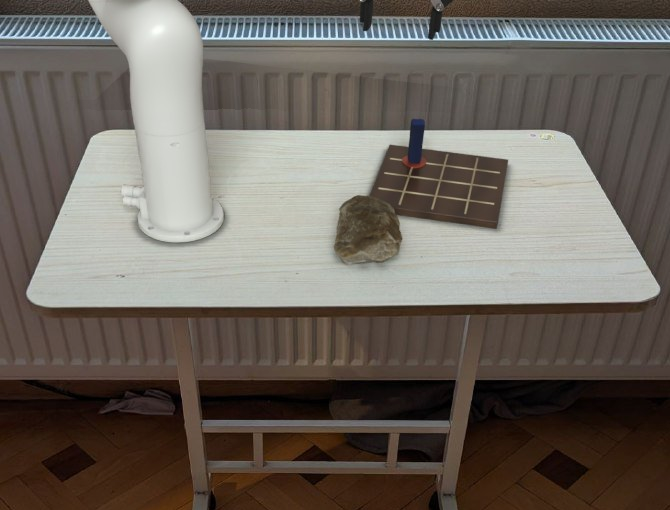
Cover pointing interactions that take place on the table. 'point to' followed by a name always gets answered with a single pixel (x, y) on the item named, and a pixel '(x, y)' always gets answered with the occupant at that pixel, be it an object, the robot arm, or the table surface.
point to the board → (442, 186)
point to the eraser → (416, 140)
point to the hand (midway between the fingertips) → (399, 32)
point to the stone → (367, 231)
